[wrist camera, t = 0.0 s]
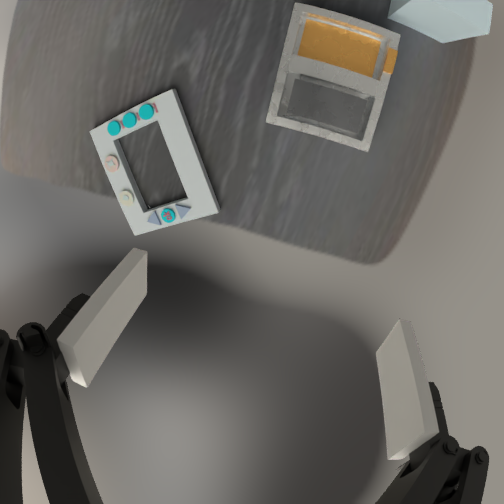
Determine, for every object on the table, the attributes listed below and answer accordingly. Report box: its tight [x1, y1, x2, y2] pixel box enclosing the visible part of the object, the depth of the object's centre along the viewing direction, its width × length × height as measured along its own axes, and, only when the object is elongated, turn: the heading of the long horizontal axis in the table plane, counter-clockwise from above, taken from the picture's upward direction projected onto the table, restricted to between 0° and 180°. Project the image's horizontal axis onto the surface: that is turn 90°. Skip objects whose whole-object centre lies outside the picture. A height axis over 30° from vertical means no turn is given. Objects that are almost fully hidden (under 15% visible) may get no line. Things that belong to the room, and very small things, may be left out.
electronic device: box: [90, 89, 221, 236], centre depth 41 cm, size 18×2×15 cm
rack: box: [266, 2, 401, 152], centre depth 30 cm, size 15×12×6 cm
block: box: [387, 0, 493, 43], centre depth 20 cm, size 4×8×12 cm, turn 78°
